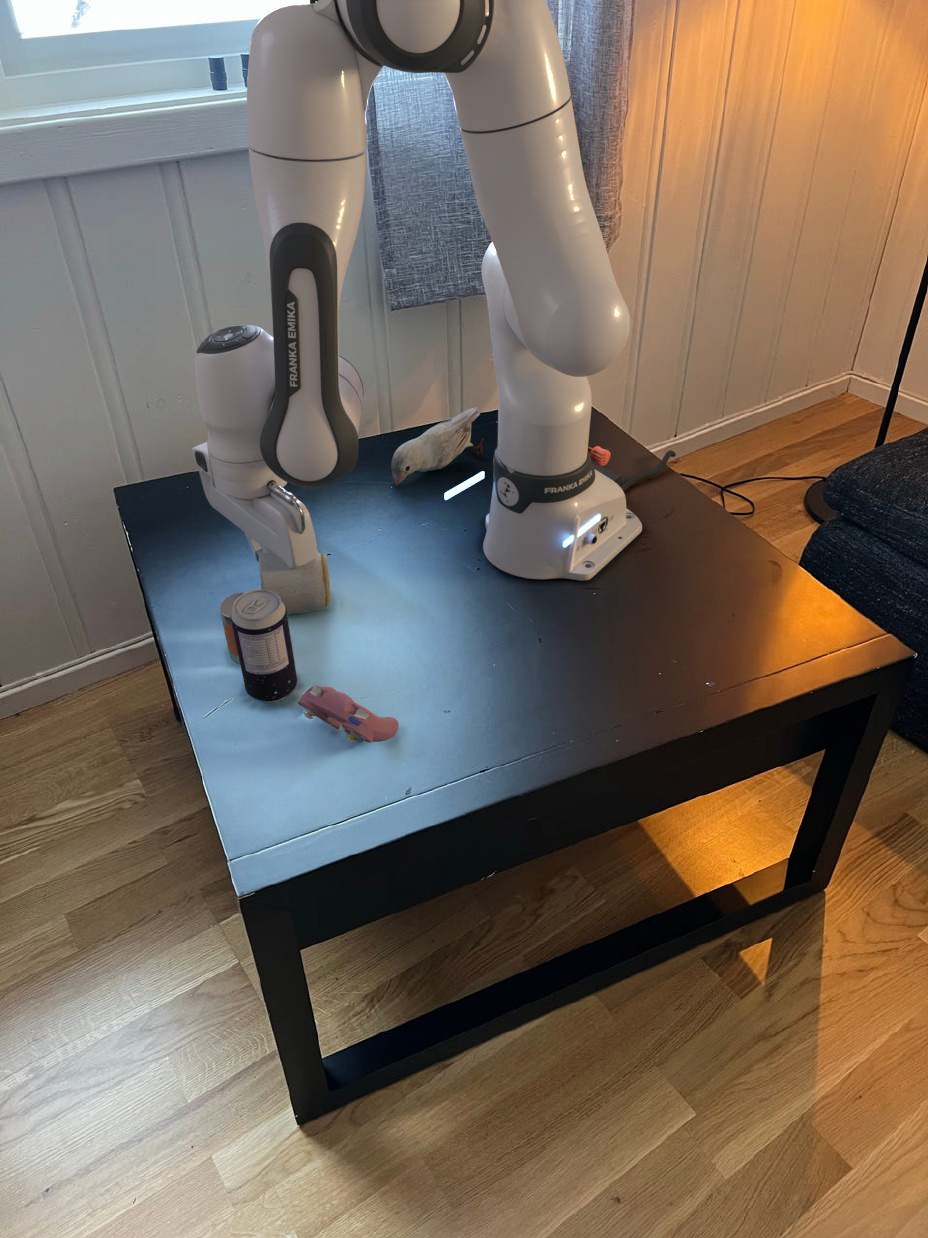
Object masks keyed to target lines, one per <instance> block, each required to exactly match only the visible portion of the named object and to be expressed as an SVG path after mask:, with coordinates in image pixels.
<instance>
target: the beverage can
mask: <svg viewBox="0 0 928 1238" xmlns="http://www.w3.org/2000/svg"><path fill="white" fill-rule="evenodd" d="M243 593H244V594H242V595H240V596H239V597H238V598H237V599H236V600H235V601H234V603H233V611H232V613H231V622H232V627H233V632H234V637H235V641H236V646H237V651H238V656H239V661H240V665H239V666H240V671H241V675H242V680H243V684H244V689H245V692H246V694H247V695H248V696H249V697H250V698H252V699H253V700H256V701H259V702H262V703H269V704H270V703H277V702H279V701H282V700H284V699H285V698H287V697H288V696H289V695H290V694H292V693H293V692H294V691H295V689H296V688H297V686H298V676H297V669H296V662H295V655H294V649H293V642H292V637H291V630H290V623H289V617H288V614H287V610H286V607H285V605H284V604H283V603H282V602H281V599H280V597H279V596H278V595H277V594H276V593H274V592H272V591H269V590H261V589H253V590H249V591H246V592H243Z"/></svg>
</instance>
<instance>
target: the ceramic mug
mask: <svg viewBox="0 0 928 1238" xmlns="http://www.w3.org/2000/svg"><path fill="white" fill-rule="evenodd" d="M258 565H259V566H258V567H259V580H260V590H269V591H272V592H274V593H276V594H277V595H278V596H279V597H280V599H281V602H282V603H283V604H284V605H285V607H286V610H287V615H292V614H293V615H295V614H300V613H308V612H309V613H310V612H316V611H322V610H325V609H327V608H328V607H329V606H330V605H331V602H332V601H331V599H332V598H331V596H332V595H331V586H330V585H331V583H330V574H329V564H328V557H327V555H326V554H325V553H324V552H321V551H318V555H317V557H316V559H315V560H314V561H312V562H310V563H308V564H307V565H304V566H302V567H300V568H298V569H291V568H289V567H288V566H287V565H286V564H285V563H284V562H283V561H282V560H281V559H280V558H279V557H278V556H276V555H275V554H273V553H270V552H268V553H260V554H259V562H258Z"/></svg>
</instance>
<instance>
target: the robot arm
mask: <svg viewBox="0 0 928 1238" xmlns="http://www.w3.org/2000/svg"><path fill="white" fill-rule="evenodd" d="M248 53H249V54H248V66H247V78H246V79H247V80H246V130H247V145H248V155H249V156H248V159H249V167H250V176H251V182H252V190H253V196H254V202H255V207H256V212H257V213H256V214H257V217H258V223H259V229H260V233H261V234H260V235H261V238H262V245H263V251H264V257H265V262H266V269H267V274H268V281H269V286H270V299H271V315H272V316H271V318H272V335H271V334H269V333H268V332H267V331H266V330H264V329H263V328H262V327H260V326H258V325H253V324H234V325H230V326H227V327H223V328H221V329H218V330H217V331H215V332H213V333H211V334H209V335H207V336H206V338H204V340H203V341H202V342H201V343H200V344H199V346H198V348H197V349H196V350H195V354H194V360H193V361H194V364H193V365H194V379H195V381H194V382H195V389H196V397H197V401H198V409H199V414H200V417H201V419H202V421H203V423H204V425H205V426H206V429H207V441H205V442H202V443H200V444H197V445H196V446H194V447H192V448H191V454H192V458H193V462H194V463H195V464H196V465H197V466H198V473H199V477H200V481H201V485H202V490H203V492H204V495H205V497H206V498H205V499H206V500H207V502H208V503H209V505H210V506H211V508H213V509H214V510H216V512H218V513H219V514H221V515H222V516H223V517H224V518H225V519H227V520H228V521H229V522H230V523H232V524H233V525H234V526H236V527H237V528H238V529H240V530H241V531H242V532H244V535H245V538H246V539H247V541H248V544H249V547H251V550H252V553H253V557H254V560H255V561H256V562H258V563H259V554H260V553H268V552H270V553H273V554H275V555H276V556H278V557H279V558H280V559H281V560H282V561H283V562H284V563H285V564H286V565H287V566H288V567H289V568H291V569H298V568H300V567H302V566H304V565H307V564H308V563H310V562H312V561H314V560H315V559H316V557H317V555H318V552H319V550H318V544H317V538H316V533H315V528H314V524H313V521H312V518H311V515H310V512H309V510H308V508H307V507H306V505H305V504H304V503H303V502H302V501H301V500H299V499H298V498H297V497H296V495H295V494H293V493H292V492H290V491H288V490H286V488H284V487H286V485H287V484H290V485H292V486H295V487H299V488H302V489H310V490H311V489H312V490H315V489H317V490H319V489H325V488H331V487H333V486H335V485H337V484H340V483H341V482H343V481H344V480H345V479H347V478H348V477H349V476H350V475H351V474H352V473H353V471H354V470H355V467H356V466H357V463H358V460H359V433H360V427H361V426H360V425H361V418H362V409H363V400H364V394H365V393H364V383H363V381H362V378H361V375H360V374H359V372H358V370H357V369H356V367H355V366H354V365H353V364H352V363H351V362H349V360H348V359H346V358H344V357H343V356H341V355H340V349H339V347H340V341H339V316H340V315H339V314H340V303H341V295H342V290H343V285H344V281H345V277H346V273H347V270H348V269H347V268H348V265H349V262H350V258H351V255H352V252H353V249H354V246H355V242H356V238H357V235H358V233H359V232H358V231H359V228H360V223H361V218H362V213H363V208H364V202H365V196H366V195H365V194H366V186H367V185H366V184H367V175H368V173H367V172H368V134H367V133H368V131H367V129H368V128H367V110H368V103H369V98H370V93H371V90H372V87H373V85H374V82H375V80H376V79H377V77H378V76H379V74H380V73H381V72H382V71H383V69H384V67H387V68H388V69H391V70H394V71H398V72H403V73H408V74H427V73H428V74H430V73H431V74H432V73H433V74H434V73H435V74H436V73H437V74H439V73H440V74H441V73H443V75H444V77H445V79H446V81H447V84H448V87H449V89H450V91H451V93H452V98H453V104H454V109H455V114H456V118H457V123H458V128H459V133H460V136H461V140H462V144H463V149H464V153H465V157H466V162H467V166H468V170H469V176H470V179H471V184H472V188H473V192H474V197H475V200H476V204H477V208H478V211H479V213H480V216H481V217H482V219H483V222H484V224H485V226H486V227H485V228H486V229H487V231H488V235H489V237H490V240H491V243H490V244H489V245H488V247H487V249H486V250H485V253H484V254H483V258H482V261H481V262H482V263H481V280H482V285H483V288H484V294H485V297H486V303H487V312H488V321H489V332H490V339H491V349H492V356H493V362H494V363H493V364H494V369H495V376H496V385H497V398H498V399H497V403H498V407H497V447H496V448H495V450H494V453H493V454H494V455H493V459H492V460H493V461H492V464H493V473H492V474H493V476H492V477H493V484H492V493H491V499H490V506H489V513H487V514H486V516H485V521H484V525H485V530H486V531H485V532H486V533H485V535H484V539H483V543H482V550H483V553H484V556H485V557H486V559H487V560H488V561H489V563H491V564H492V565H493V566H494V567H495V568H497V569H499V570H501V571H502V572H504V573H507V574H509V575H511V576H515V577H519V578H524V579H531V580H555V579H566V580H567V579H568V580H572V581H573V580H575V581H581V582H583V581H590V580H591V579H592V578H594V577H595V576H596V575H597V574H598V573H599V572H600V571H601V570H602V569H603V568H605V567H606V566H607V565H608V564H609V563H610V562H611V561H612V560H613V559H614V558H615V557H616V556H617V555H618V554H619V553H620V552H622V551H623V550H624V549H625V548H626V547H627V546H628V545H629V544H630V543H631V542H632V541H634V539H636V538H637V537H638V536H639V535H640V534H641V533H642V532H643V524H642V522H641V520H640V518H639V517H637V515H636V514H634V512H632V511H631V510H629V508H627V499H626V494H625V491H627V490H628V489H630V488H631V487H632V486H633V485H634V484H635V483H637V482H640V481H642V480H645V479H648V478H651V477H654V476H656V475H657V474H659V473H660V472H661V471H662V470H663V469H664V468H665V466H666V465H667V463H668V462H669V460H670V458H674V457H676V456H677V453H676V452H675V451H674V450H671V449H670V450H668V451H666V452H665V454H664V455H663V457H662V458H661V460H660V462H659V463H658V465H657V466H656V467H655V468H653V469H651V470H649V471H647V472H643V473H640V474H638V475H635V476H633V477H631V478H630V479H628V480H627V481H626V482H625V483H624V484H622V485H621V483H622V474H620V473H618V472H615V471H614V470H613V471H612V470H610V469H608V468H605V467H604V466H606V465H607V464H608V463H609V461H610V459H611V456H612V455H611V452H610V451H609V450H608V449H604V448H602V447H601V446H599V445H596V446H594V447H593V448H592V447H590V446H589V440H590V439H589V438H590V429H591V416H592V405H593V395H592V394H593V393H592V388H591V385H590V382H589V379H588V377H589V376H593V375H596V374H598V373H600V372H602V371H604V370H605V369H607V368H608V367H609V366H611V365H613V363H614V362H615V361H616V360H617V359H618V357H619V356H620V355H621V354H622V352H623V350H624V349H625V346H626V345H627V343H628V340H629V337H630V332H631V315H630V311H629V307H628V305H627V303H626V301H625V298H624V297H623V294H622V293H621V290H620V288H619V284H618V283H617V280H616V277H615V274H614V271H613V267H612V264H611V261H610V256H609V253H608V250H607V247H606V243H605V240H604V237H603V233H602V231H601V228H600V224H599V221H598V217H597V215H596V212H595V209H594V206H593V203H592V200H591V197H590V193H589V189H588V187H587V182H586V178H585V173H584V169H583V168H584V167H583V162H582V156H581V150H580V145H579V137H578V132H577V124H576V119H575V112H574V108H573V101H572V95H571V88H570V82H569V76H568V72H567V67H566V62H565V58H564V54H563V53H564V52H563V50H562V47H561V42H560V38H559V34H558V31H557V29H556V25H555V22H554V18H553V15H552V12H551V9H550V7H549V4H548V0H309V4H307V3H306V4H299V3H298V4H288V5H284V6H281V7H278V8H276V9H274V10H272V11H270V12H268V13H267V14H264V16H262V18H261V19H259V21H258V22H257V23H256V24H255V27H254V28H253V30H252V34H251V38H250V44H249V52H248ZM593 462H595V463H597V464H595V463H593ZM483 479H485V471H484V470H483V471H480V472H478V473H477V474H475V475H474V476H472V477H470V478H468V479H467V480H465V481H463V482H462V483H460V484H458V485H456V486H454V487H453V488H451V489H449V490H447V491H446V492H445V493H444V500H445V501H447V500H449V499H451V498H452V497H454V496H455V495H457V494H459V493H462V491H465V490H466V489H469V488H470V487H471V486H473V485H475V484H476V483H478V482H480V481H482V480H483Z"/></svg>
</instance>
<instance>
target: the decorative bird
mask: <svg viewBox="0 0 928 1238" xmlns="http://www.w3.org/2000/svg"><path fill="white" fill-rule="evenodd" d="M480 415H481V412H480V411H479V408H478V406H474V407H470V408H468V409H466V410H464V411H463V412H460V413H458V414H457V415H456V416H455V417H453V418H451V419H447V420H444V421H441V422H440V423H437V424H435V425H433V426H432V427H430V428H429V429H426V431H424V432H423V433H422V434H421V435H420V436H417V437H416V438H413V439H411V440H408V441H406V442H404V443H403V444H401V445H400V446H398V447H397V449H396V450H395V451H394V453H393V456H392V459H391V464H390V469H391V474H392V479H393V481H394V484H395V485H396V486H398V485H400V484H401V483H402V482H403V481H404V480H405V479H406V478H407V477H408V476H409V475H411V474H412V473H414V472H421V473H424V472H430V471H437V470H441V469H444V468H445V467H446V466H448V465H449V464H450V463H451V462H453V460H454V459H456V458H457V457H458V456H459V455H460V454H461V453H463V451H464V450H467V448H469V450H472V449H475V450H474V451H473V453H474V454H475V453H476V457H477V458H479V454H480V456H481V457H484V455H483V441H484V438H482V439H481V440H480V442H479V445H478V446H475V445H474V443H472V442H471V441H472V439H471V437H472V423H473V422H474V421H475V420H476V419H477V418H479V417H480ZM471 447H472V448H471Z"/></svg>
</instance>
